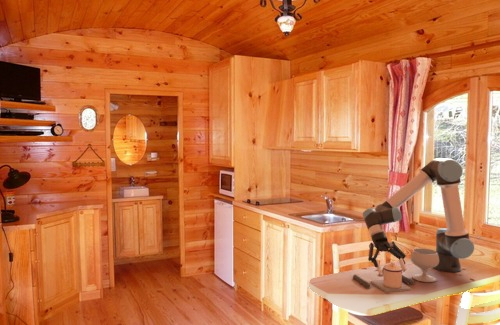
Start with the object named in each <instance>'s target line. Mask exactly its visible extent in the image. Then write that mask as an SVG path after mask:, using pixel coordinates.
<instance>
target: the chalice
mask: <svg viewBox="0 0 500 325" xmlns="http://www.w3.org/2000/svg"><path fill="white" fill-rule="evenodd" d="M410 261H411V263H412V264H413V265H415V266H416V267H418V268H419V269H420V270H421V271H422V273H421V274H419V273H416V274H414V275H412V276H411V278H412V279H413V280H415V281H419V282H422V283H434V282H437V281H438V280H437V278H436V277H434V276H432V275H428V274H427V272H428V270H430V269H434V268H433V267H436V266H437V265H438V264H439V256H438V254H437V252H436V250H433V249H430V248H414V249H413V250H412V252H411V254H410Z"/></svg>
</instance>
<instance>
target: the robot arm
mask: <svg viewBox="0 0 500 325" xmlns="http://www.w3.org/2000/svg"><path fill="white" fill-rule="evenodd" d="M418 172H419V173H418V174H417V175H415V176H414V177H413V178H412V179H410V180H409V181H408V182H407V183H406V184H405V185H403V186H402V187H401V188H400V189H398V190H397V191H396V192H395V193H393V195H391V196H390V197H389V198H388V199H386V200H385V201H384V202H382V203H381V204H380V203H379V204H377V205H376V206H375V209H374V208H371V207H370V208H367V209H365V210H364V211H363V212H362V217H363V221H364V222H365V226H366V227H367V230H368V232H369V235H370V237H371V241H372V242H370V243H369V244H368V247H369V250H368V251H369V252H368V258H367V260H368V261H369V262H371V263H373V266H374V267H375V268H376V271H377V273H378V275H380V274H382V269H383V268H382V267H381V264H380V262H379V259H377V258H378V256H379V253H380V252H381V253H382V252H387V253H389V254H391V256H394V257H395V258H397V259H398V263H399V266H400V267H401V268H402V273H406V271H407V270H408V269H407V266H406V262H405V258H406V257H407V255H406V254H405V253H404V251H402V249H401V248H399V247H398V246H397V245H396V243H395V242H394V241H391V242H389V241H388V236H387V235H386V232H385V230H384V228H383V226H382V225H387V224H392V223H397V222H399V221H401V220H402V219H403V218H402V212H401V210H400V207H401V206H403V205H404V204H405V203H407V201H409V200H410V199H411V198H412V197H414V196H415V195H416V194H418V193H419V192H420V191H421V190H422V189H424V188H425V187H426V186H427V185H428V184H433V183H434V182H435V181H436V185H437V186H438V187H440V191H441V198H442V204H443V205H442V206H443V212H444V216H445V218H444V219H445V223H446V224H445V225H446V228H445V227H444V228H443V227H442V228H437V229H436V236H435V238H436V239H435V251H436V252H437V254H438V256H439V264H438V265H437V266H436V267H433V268H432V269H434V270H439V271H442V272H449V273H453V272H454V273H458V272H461V271H462V265H461V259H463V260H465V259H468V258H470V257H471V256H472V255H473V254H474V252H475V244H474V242H473V241H472V240H471V239H470V234H469V231H468V229H466V228H465V224H464V223H465V221H464V215H463V209H462V203H461V197H460V196H461V195H460V191H459V185H460V183H461V177H462V175H463V166H462V165H461V163H460V162H458V161H457V160H456V159H453V158H443V157H438V158H434V159H432V160H431V161H429V162H427V164H426V165H424V166H423V167H422V168H421V169H420V170H419V171H418ZM374 248H375V249H376V250H375V252H374Z"/></svg>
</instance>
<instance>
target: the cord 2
mask: <svg viewBox="0 0 500 325" xmlns="http://www.w3.org/2000/svg"><path fill="white" fill-rule="evenodd" d="M402 282H404V283H406V284H408V285H410V286H412V285H414V281H413V280H411V279H410V278H408V277H406V276H405V275H403V274H402Z"/></svg>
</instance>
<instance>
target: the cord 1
mask: <svg viewBox="0 0 500 325" xmlns="http://www.w3.org/2000/svg"><path fill="white" fill-rule="evenodd" d="M352 279H353V280H355V281H356V282H357V283H359V284H361V285H362V286H363V287H365V288H366V289H370V288H371V283H369V282H368V281H366V280H364V279H363V278H361V277H360V276H359V275H357V274H353V276H352Z"/></svg>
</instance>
